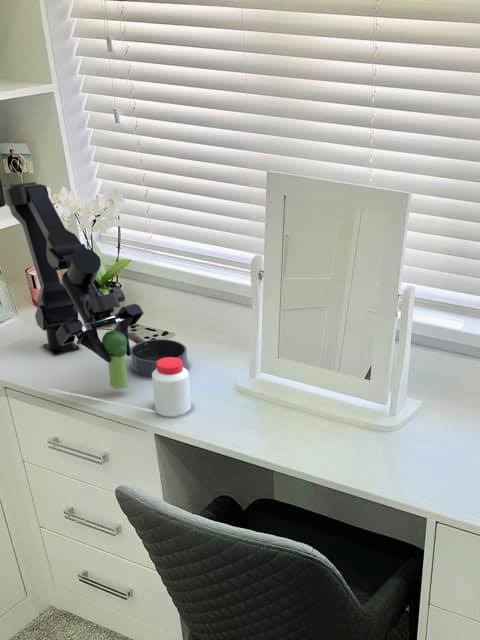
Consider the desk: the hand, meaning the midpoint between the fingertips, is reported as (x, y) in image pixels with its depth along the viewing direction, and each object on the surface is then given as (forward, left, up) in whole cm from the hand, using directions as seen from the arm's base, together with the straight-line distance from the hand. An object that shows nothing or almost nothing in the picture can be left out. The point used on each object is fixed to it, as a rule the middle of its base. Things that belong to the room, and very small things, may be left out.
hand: (119, 358), depth 169 cm
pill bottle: (+11, +6, -10) cm, 16 cm away
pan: (-9, +14, -9) cm, 19 cm away
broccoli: (-1, 0, -7) cm, 7 cm away
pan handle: (-19, +14, -7) cm, 24 cm away
